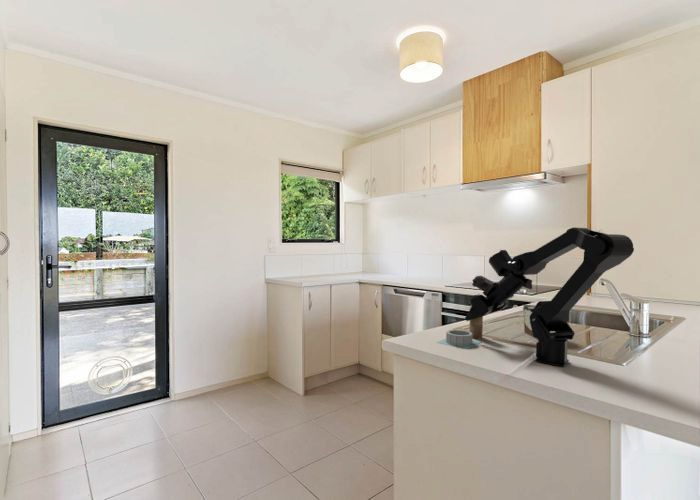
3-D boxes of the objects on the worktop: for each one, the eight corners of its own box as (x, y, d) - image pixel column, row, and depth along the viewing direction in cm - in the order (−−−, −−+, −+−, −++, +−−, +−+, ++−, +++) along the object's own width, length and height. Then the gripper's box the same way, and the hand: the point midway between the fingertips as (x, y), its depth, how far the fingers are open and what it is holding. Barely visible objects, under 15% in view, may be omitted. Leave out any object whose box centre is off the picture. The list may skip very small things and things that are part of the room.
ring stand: (481, 345, 111) (481, 332, 111) (467, 352, 103) (467, 338, 103) (451, 339, 118) (451, 327, 118) (436, 345, 110) (436, 332, 110)
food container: (559, 341, 116) (559, 311, 116) (539, 341, 117) (540, 310, 116) (539, 332, 129) (540, 304, 129) (522, 332, 129) (522, 304, 129)
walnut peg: (484, 340, 117) (484, 306, 117) (479, 342, 114) (479, 308, 114) (472, 338, 120) (472, 305, 120) (467, 340, 117) (467, 306, 117)
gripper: (499, 266, 121) (467, 295, 129) (476, 268, 107) (442, 301, 115) (524, 292, 116) (489, 321, 124) (503, 298, 102) (465, 330, 110)
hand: (471, 317), depth 118 cm, fingers open, 9 cm apart
